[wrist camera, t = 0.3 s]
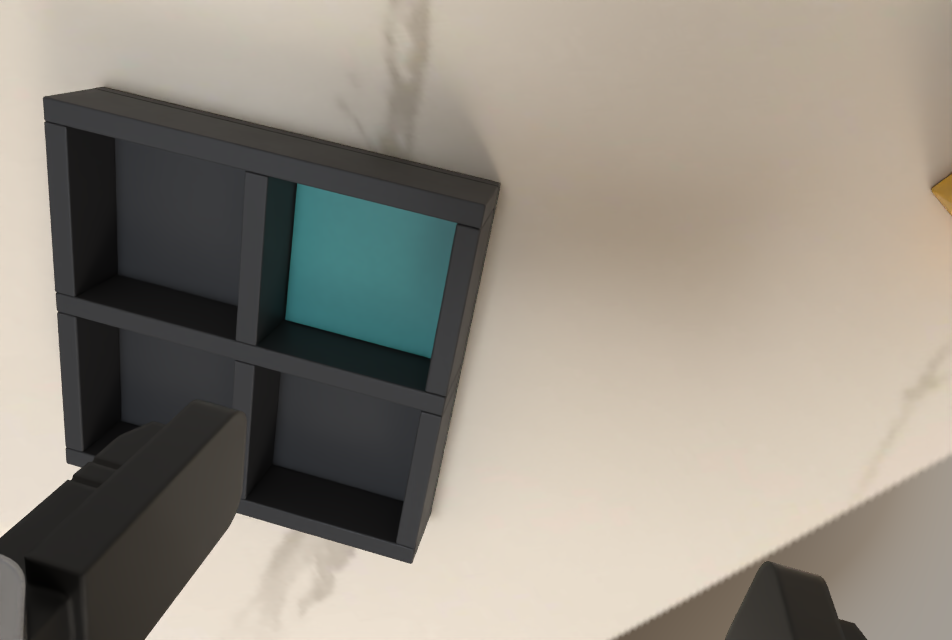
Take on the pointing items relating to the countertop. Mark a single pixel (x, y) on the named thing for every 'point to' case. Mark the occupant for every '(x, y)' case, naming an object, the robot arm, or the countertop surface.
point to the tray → (265, 303)
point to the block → (944, 193)
